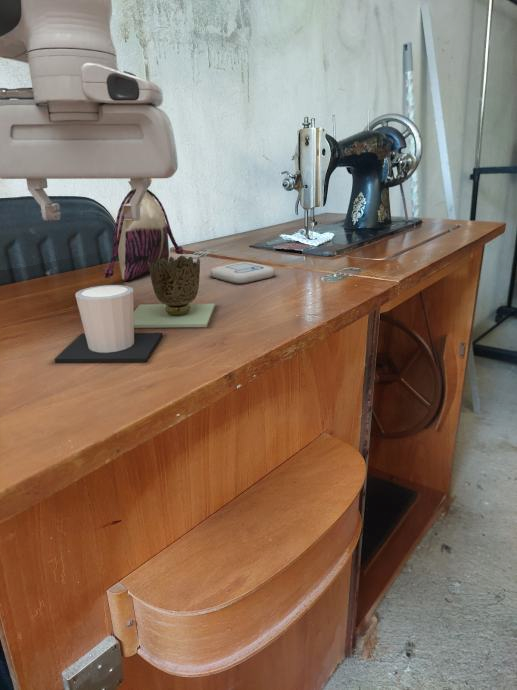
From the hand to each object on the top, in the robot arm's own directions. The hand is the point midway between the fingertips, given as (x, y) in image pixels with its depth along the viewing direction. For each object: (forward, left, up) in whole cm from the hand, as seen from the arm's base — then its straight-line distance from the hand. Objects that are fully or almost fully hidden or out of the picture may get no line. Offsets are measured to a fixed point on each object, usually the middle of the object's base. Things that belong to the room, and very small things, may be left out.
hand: (92, 220), depth 60 cm
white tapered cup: (0, 0, -16) cm, 16 cm away
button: (+14, +38, -16) cm, 44 cm away
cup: (+6, +13, -16) cm, 21 cm away
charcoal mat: (0, 0, -16) cm, 16 cm away
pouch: (-6, +43, -16) cm, 46 cm away
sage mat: (+5, +13, -16) cm, 21 cm away
